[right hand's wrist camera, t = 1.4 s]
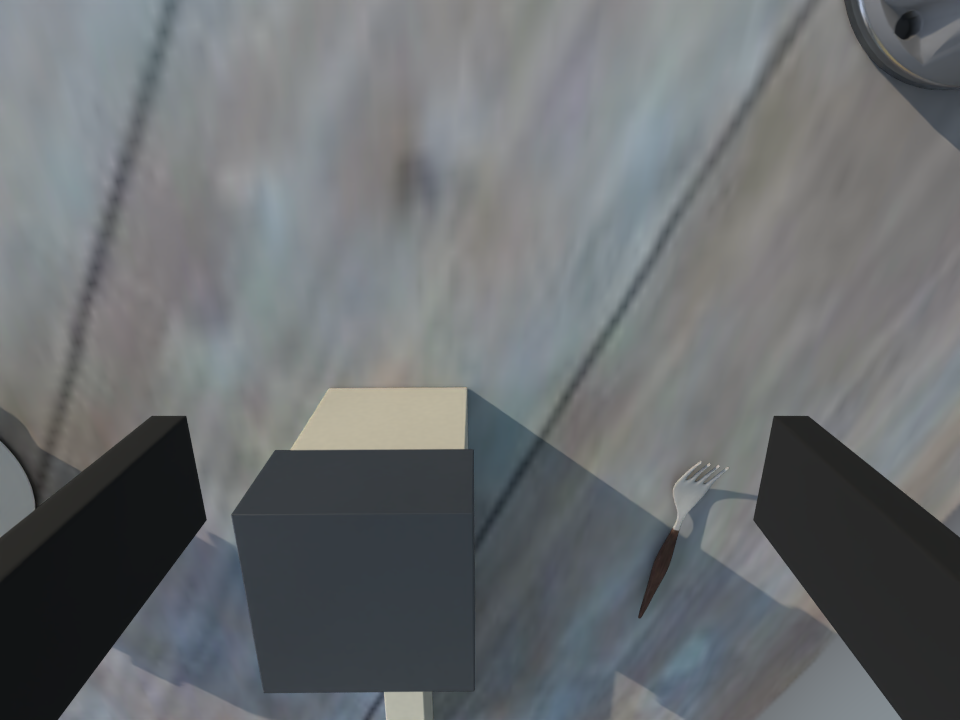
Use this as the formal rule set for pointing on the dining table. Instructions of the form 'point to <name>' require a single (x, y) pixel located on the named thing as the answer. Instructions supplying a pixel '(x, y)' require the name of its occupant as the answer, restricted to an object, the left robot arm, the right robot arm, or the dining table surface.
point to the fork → (677, 524)
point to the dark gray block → (361, 570)
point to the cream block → (386, 426)
